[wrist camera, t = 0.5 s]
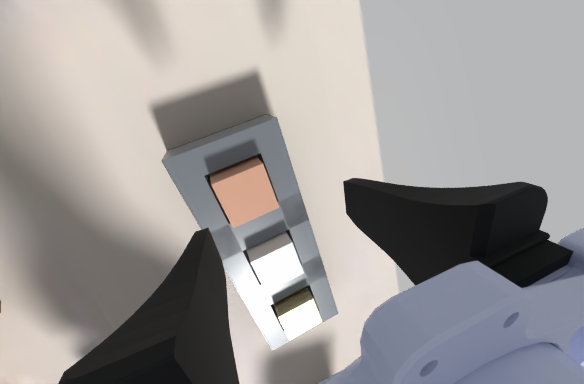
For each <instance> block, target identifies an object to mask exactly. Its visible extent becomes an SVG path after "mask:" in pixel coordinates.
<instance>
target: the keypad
mask: <svg viewBox="0 0 584 384" xmlns="http://www.w3.org/2000/svg"><path fill="white" fill-rule="evenodd" d="M255 155H257V157H258V159H259V160H260V161H261V162H262V163H263V165H264V167H265V170H266V173H267V175H268V178H269V181H270V184H271V186H272V189H273V192H274V194H275V197H276V200H277V202H278V205H279V208H277V209H275V210H273V211H271V212H268V213H266V214H264V215H262V216H260V217H257V218H255V219H253V220H251V221H248V222H246V223H244V224H242V225H240V226H237V227H235V228H233V227H232V225H231V223H230V221H229V219H228V217H227V215H226V213H225V211H224V209H223V207H222V205H221V203H220V201H219V199H218V197H217V195H216V193H215V191H214V189H213V187H212V185H211V180H210V177H209V175H208V174H210V173H212V172H215V171H217V170H220V169H222V168H225V167H227V166H230V165H232V164H235V163H237V162H240V161H242V160H245V159H247V158H250V157H252V156H255ZM162 163H163V165H164V166H165V168H166V170H167V171H168V173H169V175H170V177H171V178H172V180H173V182H174V183H175V185H176V187H177V189H178V190H179V192H180V194H181V195H182V197H183V199H184V201H185V202H186V204H187V206H188V207H189V209H190V211H191V212H192V214H193V216H194V218H195V219H196V221H197V223H198V224H199V226H200V228H201V230H202V229H205V228H209V230H210V233H211V235H212V237H213V240H214V242H215V245H216V247H217V249H218V252H219V254H220V256H221V259H222V262H223V267H224V269H225V271H226V272H227V274H228V276H229V278H230V279H231V281H232V283H233V284H234V286H235V288H236V290H237V291H238V293H239V295H240V296H241V298H242V300H243V302H244V303H245V305H246V307H247V308H248V310H249V312H250V314H251V315H252V317H253V319H254V320H255V322H256V324H257V326H258V327H259V329H260V331H261V332H262V334H263V336H264V338H265V339H266V341H267V343H268V344H269V346H270V348H271V349H272V351H273V350H275V349H277V348H279V347H280V346H282V345H284V344H286V343H287V342H289V341H291V340H293V339H294V338H293V339H291V340H289V338H288V336H287V334H286V332H285V330H284V328H283V326H282V324H281V322H280V320H279V318H278V315H277V313H276V310H275V307H274V305H273V304H274V303H276V302H278V301H279V300H281V299H283V298H285V297H287V296H289V295H291V294H293V293H295V292H296V291H298V290H300V289H302V288H304V287H306V286H307V288H308V290H309V291H310V293H311V295H312V297H313V299H314V301H315V304H316V307H317V309H318V312H319V315H320V317H321V320H322V322H324V321H326V320H328V319H329V318H331V317H333V316H335V315H336V314H338V311H337V307H336V304H335V301H334V298H333V295H332V291H331V288H330V285H329V282H328V279H327V276H326V272H325V269H324V266H323V263H322V260H321V256H320V253H319V250H318V247H317V244H316V241H315V237H314V234H313V231H312V228H311V225H310V222H309V218H308V215H307V212H306V209H305V206H304V202H303V199H302V196H301V193H300V190H299V187H298V183H297V180H296V177H295V174H294V171H293V167H292V164H291V161H290V158H289V155H288V152H287V148H286V145H285V142H284V139H283V136H282V132H281V129H280V126H279V123H278V120H277V118H276V117H273V116H270V115H267V114H266V115H263V116H260V117H258V118H255V119H252V120H250V121H247V122H244V123H241V124H239V125H236V126H233V127H231V128H228V129H225V130H222V131H220V132H217V133H214V134H212V135H209V136H206V137H204V138H201V139H198V140H195V141H193V142H190V143H187V144H185V145H182V146H179V147H177V148H174V149H171V150H168V151H167V152H166V154H165V155H164V157H163V159H162ZM284 231H286V233H287V234H288V236H289V238H290V239H291V241H292V242H293V245H294V248H295V250H296V253H297V256H298V258H299V261H300V264H301V266H302V269H303V272H304V274H302V275H300V276H298V277H296V278H294V279H292V280H290V281H288V282H286V283H285V284H283V285H281V286H279V287H277V288H275V289H273V290H271V291H269V292H267V293H266V292H265V290H264V288H263V286H262V284H261V282H260V280H259V278H258V276H257V274H256V273H255V271H254V269H253V267H252V265H251V263H250V259H249V256H248V253H247V251H246V249H248V248H250V247H252V246H254V245H256V244H259V243H261V242H263V241H265V240H267V239H269V238H271V237H273V236H275V235H278V234H280V233H282V232H284ZM322 322H321V323H322ZM321 323H319V324H321ZM319 324H317V325H319ZM317 325H316V326H317ZM314 327H315V326H314ZM314 327H312V328H314ZM312 328H310V329H312ZM310 329H309V330H310ZM307 331H308V330H307ZM307 331H305V332H307ZM305 332H303V333H305ZM303 333H302V334H303ZM300 335H301V334H300ZM300 335H298V336H300ZM298 336H296V337H298ZM296 337H295V338H296Z"/></svg>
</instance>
